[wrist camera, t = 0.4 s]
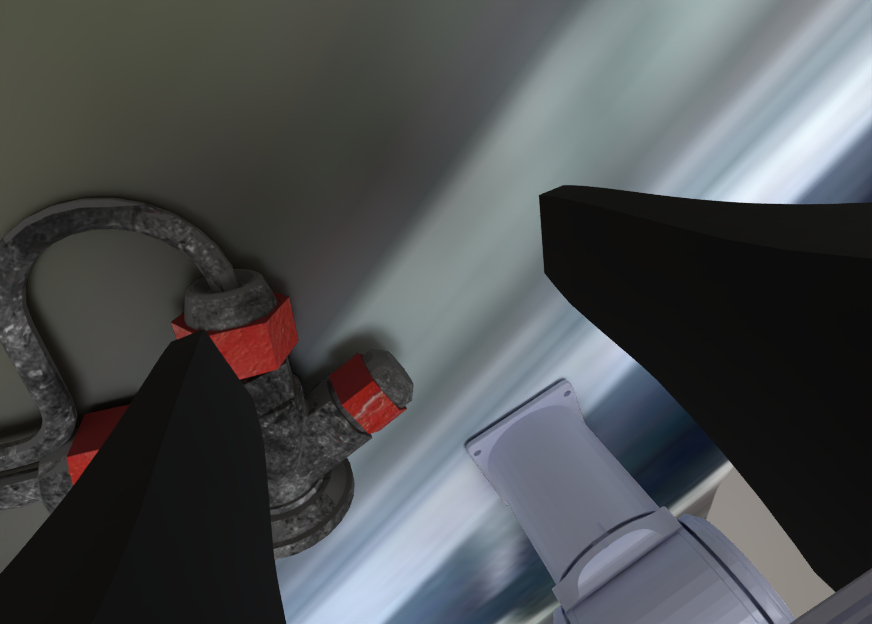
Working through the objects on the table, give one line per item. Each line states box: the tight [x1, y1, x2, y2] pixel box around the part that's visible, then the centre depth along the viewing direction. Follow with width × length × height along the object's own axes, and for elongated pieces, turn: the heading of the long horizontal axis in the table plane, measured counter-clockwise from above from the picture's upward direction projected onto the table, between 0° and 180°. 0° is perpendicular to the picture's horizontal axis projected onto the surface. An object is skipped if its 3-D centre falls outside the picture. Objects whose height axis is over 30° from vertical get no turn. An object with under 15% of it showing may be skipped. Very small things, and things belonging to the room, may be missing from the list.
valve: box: [0, 198, 413, 560], centre depth 17 cm, size 6×26×15 cm
